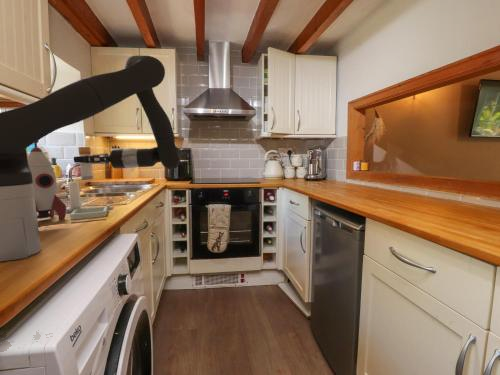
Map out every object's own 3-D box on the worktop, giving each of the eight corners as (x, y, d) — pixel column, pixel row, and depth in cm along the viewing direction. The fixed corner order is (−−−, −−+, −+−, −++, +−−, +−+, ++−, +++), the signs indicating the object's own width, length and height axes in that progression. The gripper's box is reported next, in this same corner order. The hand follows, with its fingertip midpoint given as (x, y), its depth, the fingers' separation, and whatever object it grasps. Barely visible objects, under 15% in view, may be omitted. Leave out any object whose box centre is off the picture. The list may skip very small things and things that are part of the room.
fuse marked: (92, 179, 100) (89, 146, 99) (81, 180, 99) (77, 147, 97) (93, 178, 104) (90, 147, 102) (82, 179, 102) (79, 147, 100)
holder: (113, 213, 111) (112, 206, 111) (32, 221, 100) (31, 213, 100) (114, 210, 118) (113, 203, 117) (38, 217, 107) (37, 209, 106)
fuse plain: (80, 212, 108) (77, 182, 106) (69, 213, 106) (66, 182, 105) (82, 210, 111) (79, 181, 110) (71, 211, 110) (68, 181, 108)
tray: (106, 220, 100) (105, 211, 100) (71, 223, 96) (70, 214, 95) (108, 214, 110) (107, 206, 110) (76, 217, 106) (75, 208, 105)
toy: (29, 230, 88) (17, 136, 84) (20, 225, 94) (8, 138, 90) (68, 223, 97) (59, 137, 93) (57, 219, 103) (48, 139, 99)
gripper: (130, 148, 109) (84, 149, 106) (119, 147, 95) (66, 149, 92) (132, 167, 110) (86, 168, 107) (121, 169, 96) (68, 170, 93)
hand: (77, 159), depth 100 cm, fingers closed on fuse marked, 3 cm apart
